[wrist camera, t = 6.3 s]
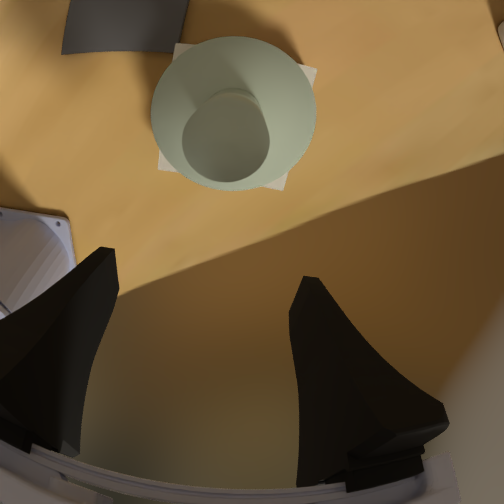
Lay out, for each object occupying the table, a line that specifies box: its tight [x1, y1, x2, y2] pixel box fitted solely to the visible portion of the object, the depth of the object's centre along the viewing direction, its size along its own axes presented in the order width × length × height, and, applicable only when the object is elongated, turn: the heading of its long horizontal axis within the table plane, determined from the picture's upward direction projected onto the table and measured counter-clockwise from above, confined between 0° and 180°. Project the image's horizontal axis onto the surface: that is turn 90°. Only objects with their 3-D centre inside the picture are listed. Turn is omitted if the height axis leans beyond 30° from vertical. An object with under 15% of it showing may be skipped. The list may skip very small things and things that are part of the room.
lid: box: [151, 36, 316, 191], centre depth 11 cm, size 8×8×6 cm
